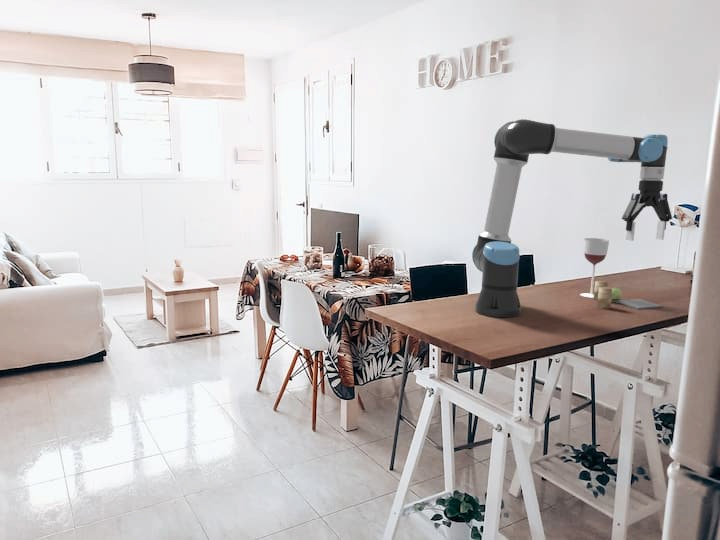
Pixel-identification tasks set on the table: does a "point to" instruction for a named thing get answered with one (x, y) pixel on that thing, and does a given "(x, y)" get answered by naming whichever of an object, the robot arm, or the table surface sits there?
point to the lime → (616, 293)
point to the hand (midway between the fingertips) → (644, 239)
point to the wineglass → (594, 256)
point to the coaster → (638, 304)
